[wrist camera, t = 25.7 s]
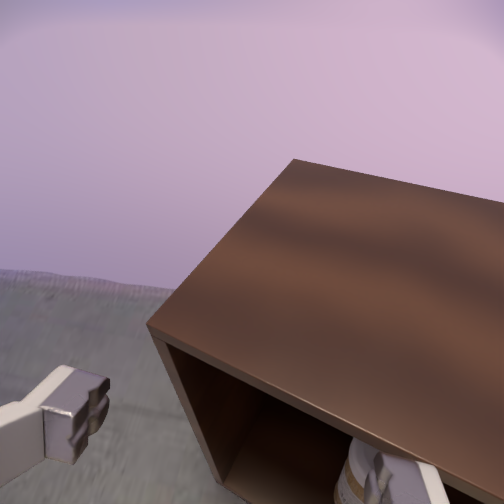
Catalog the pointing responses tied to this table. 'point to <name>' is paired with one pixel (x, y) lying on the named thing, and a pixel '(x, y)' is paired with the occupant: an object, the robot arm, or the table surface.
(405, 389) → the cupboard
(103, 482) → the table surface
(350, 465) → the sprinkles bottle
